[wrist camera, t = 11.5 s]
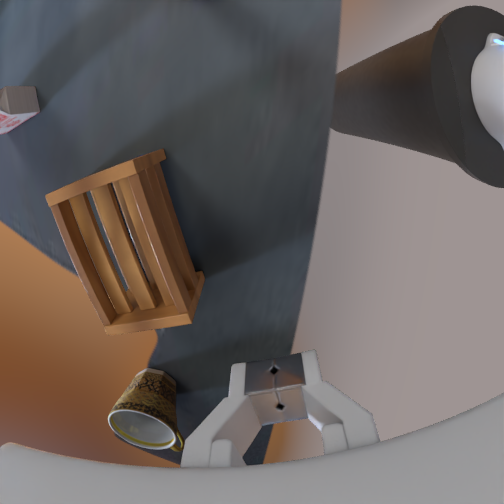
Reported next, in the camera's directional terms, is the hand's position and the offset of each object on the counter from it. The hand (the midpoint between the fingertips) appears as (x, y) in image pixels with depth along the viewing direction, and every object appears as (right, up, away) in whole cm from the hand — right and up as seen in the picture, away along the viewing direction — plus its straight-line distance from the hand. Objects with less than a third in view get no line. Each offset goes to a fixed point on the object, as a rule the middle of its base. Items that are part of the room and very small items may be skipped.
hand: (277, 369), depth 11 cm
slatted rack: (-13, +7, +25) cm, 29 cm away
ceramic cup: (-15, -17, +36) cm, 42 cm away
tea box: (-31, +22, +18) cm, 42 cm away
